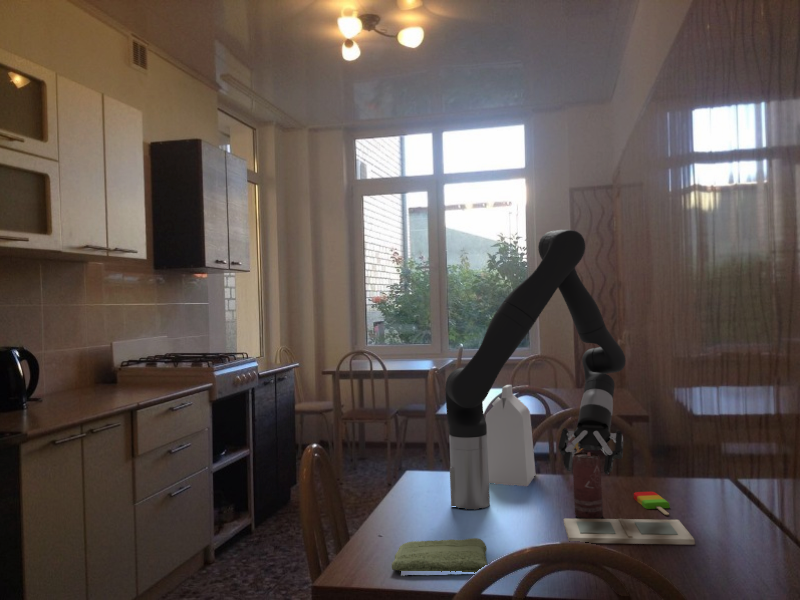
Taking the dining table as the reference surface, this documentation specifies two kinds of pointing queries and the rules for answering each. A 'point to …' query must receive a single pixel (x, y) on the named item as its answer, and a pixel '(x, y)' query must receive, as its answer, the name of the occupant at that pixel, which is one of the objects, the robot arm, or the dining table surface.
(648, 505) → the popsicle
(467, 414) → the robot arm
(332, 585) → the dining table surface
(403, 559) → the washcloth
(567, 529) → the white flat rectangular tray
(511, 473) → the milk
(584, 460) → the can
